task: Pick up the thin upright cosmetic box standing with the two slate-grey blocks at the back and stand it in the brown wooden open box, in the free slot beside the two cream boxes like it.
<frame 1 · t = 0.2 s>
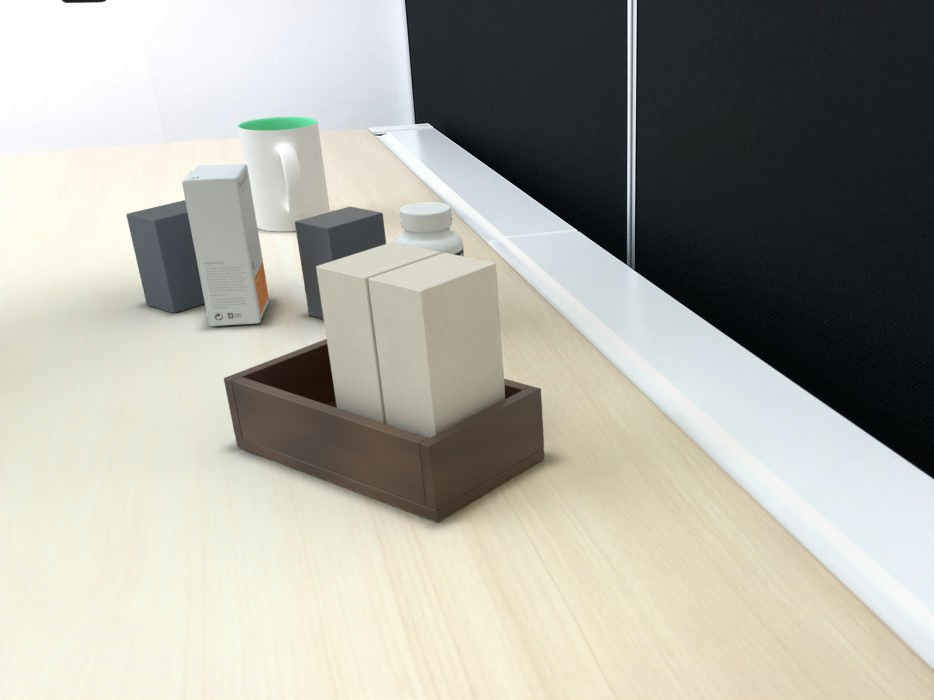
grey block back: (190, 300, 97), on the table
pill bottle: (436, 328, 91), on the table
grey block front: (351, 309, 94), on the table
cream box 2: (452, 463, 66), resting on brown wooden open box
cream box 1: (402, 446, 69), resting on brown wooden open box
brown wooden open box: (388, 453, 70), on the table
mug: (297, 227, 119), on the table
cosmetic box: (241, 316, 94), on the table
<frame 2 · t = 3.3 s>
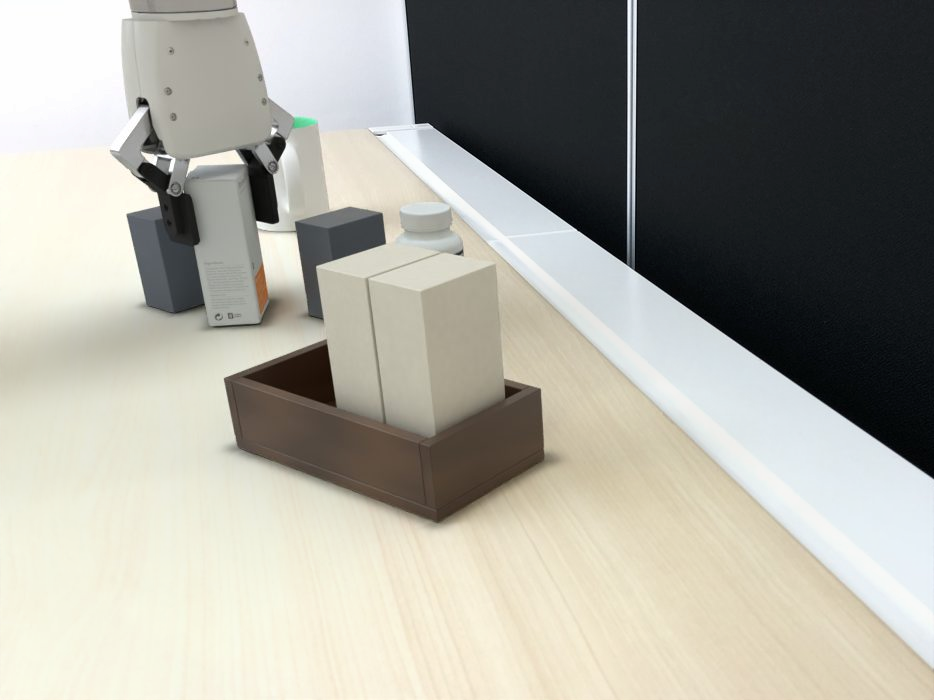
hand: (225, 230, 90), 7 cm above the table, tool pointing down, fingers closed on cosmetic box, 7 cm apart
cosmetic box: (241, 316, 94), on the table, touching gripper
everything else where it was.
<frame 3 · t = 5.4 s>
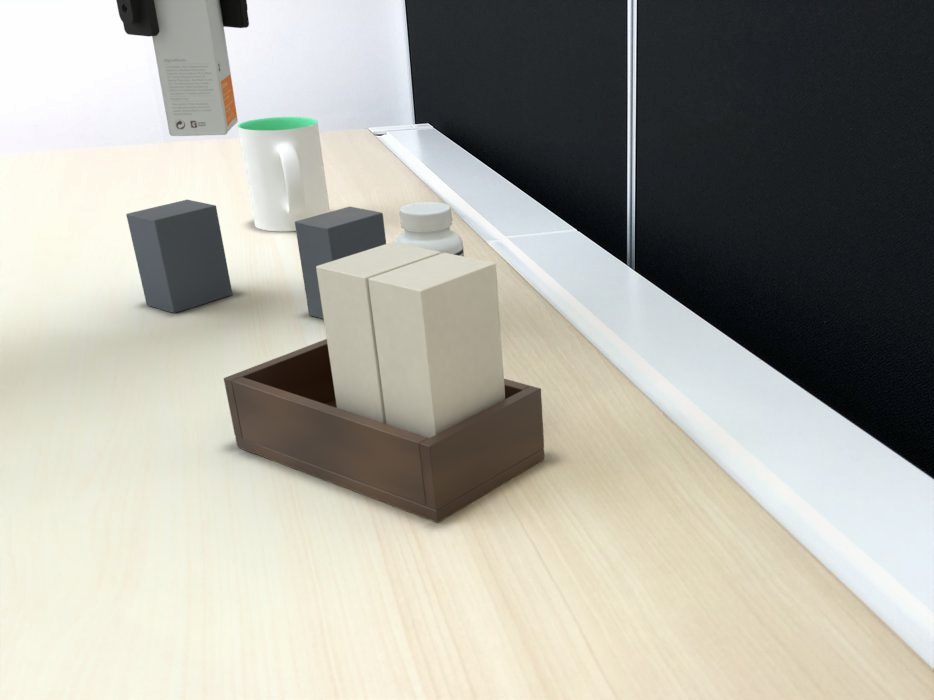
hand: (188, 28, 81), 23 cm above the table, tool pointing down, fingers closed on cosmetic box, 7 cm apart
cosmetic box: (206, 132, 85), point 15 cm above the table, touching gripper
everything else where it was.
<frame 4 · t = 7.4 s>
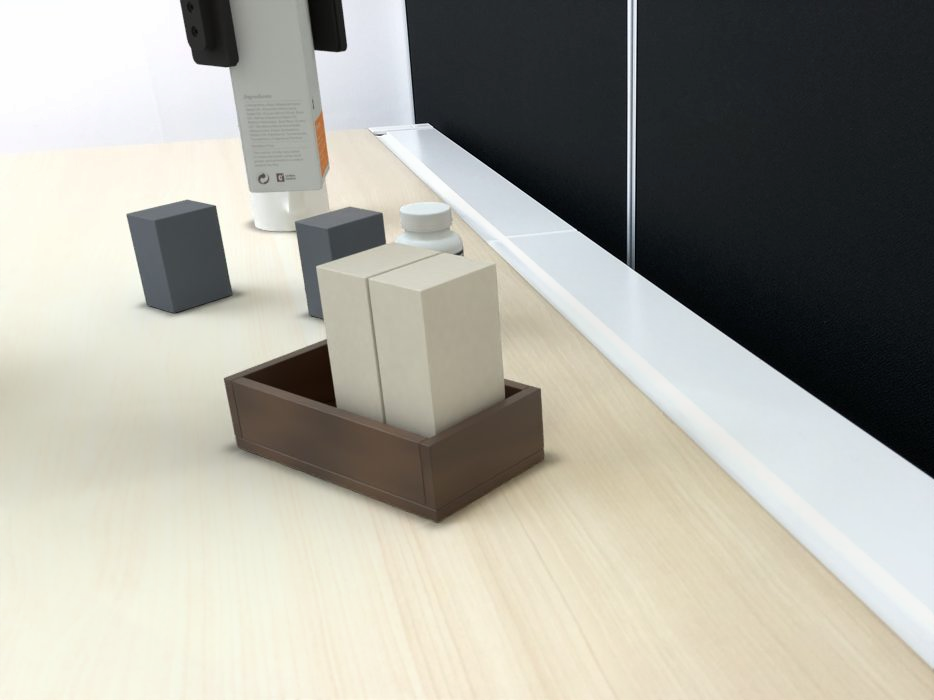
hand: (273, 55, 63), 23 cm above the table, tool pointing down, fingers closed on cosmetic box, 7 cm apart
cosmetic box: (293, 185, 66), point 16 cm above the table, touching gripper
everything else where it was.
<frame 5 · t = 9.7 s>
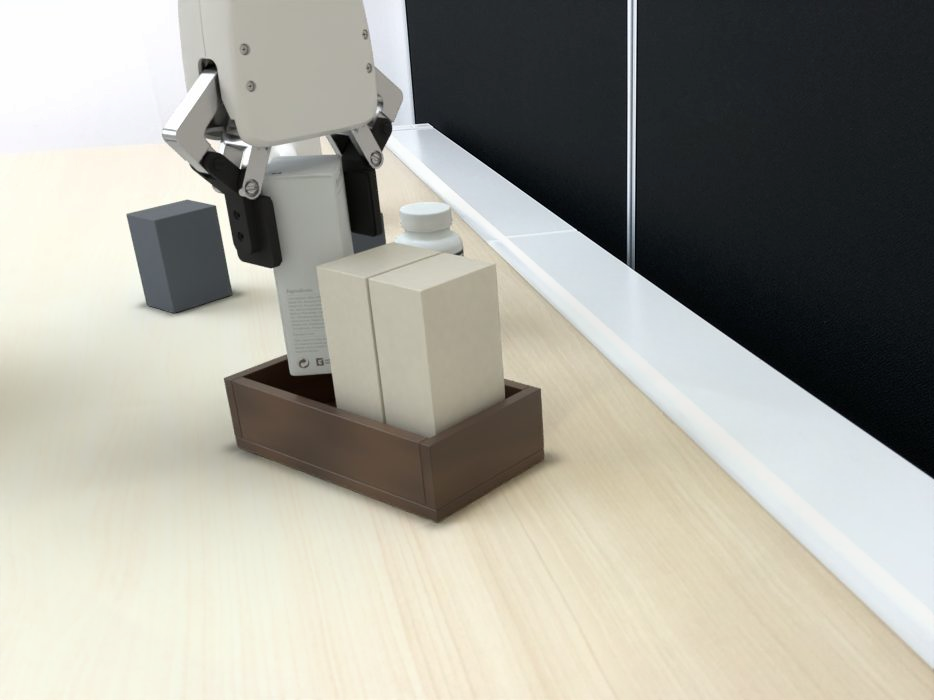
hand: (313, 245, 66), 13 cm above the table, tool pointing down, fingers closed on cosmetic box, 7 cm apart
cosmetic box: (330, 360, 69), point 5 cm above the table, touching gripper
everything else where it was.
when the fingers open (8 cm above the table, at t = 11.6 s): cosmetic box stays where it is, resting on brown wooden open box.
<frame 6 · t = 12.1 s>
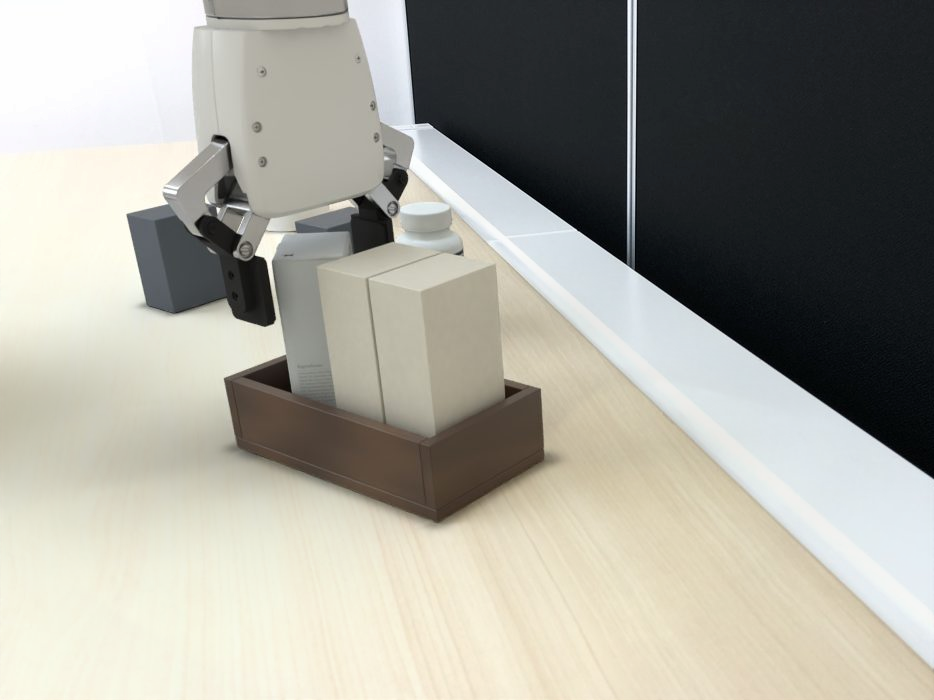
hand: (319, 299, 67), 9 cm above the table, tool pointing down, fingers open, 9 cm apart
cosmetic box: (339, 428, 72), point 1 cm above the table, touching brown wooden open box
everything else where it was.
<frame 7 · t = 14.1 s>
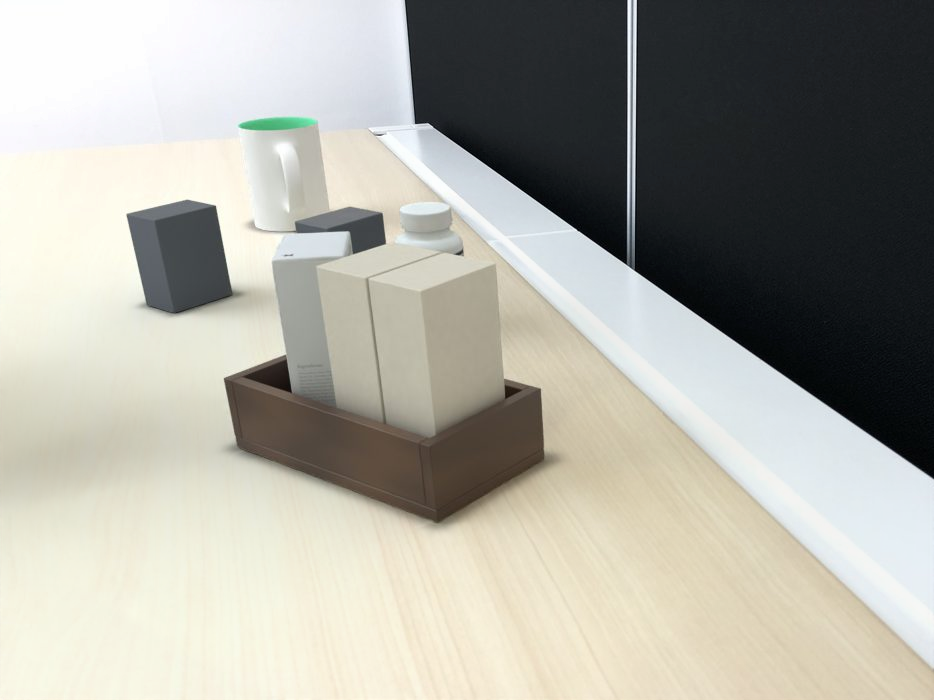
nothing on the table moved.
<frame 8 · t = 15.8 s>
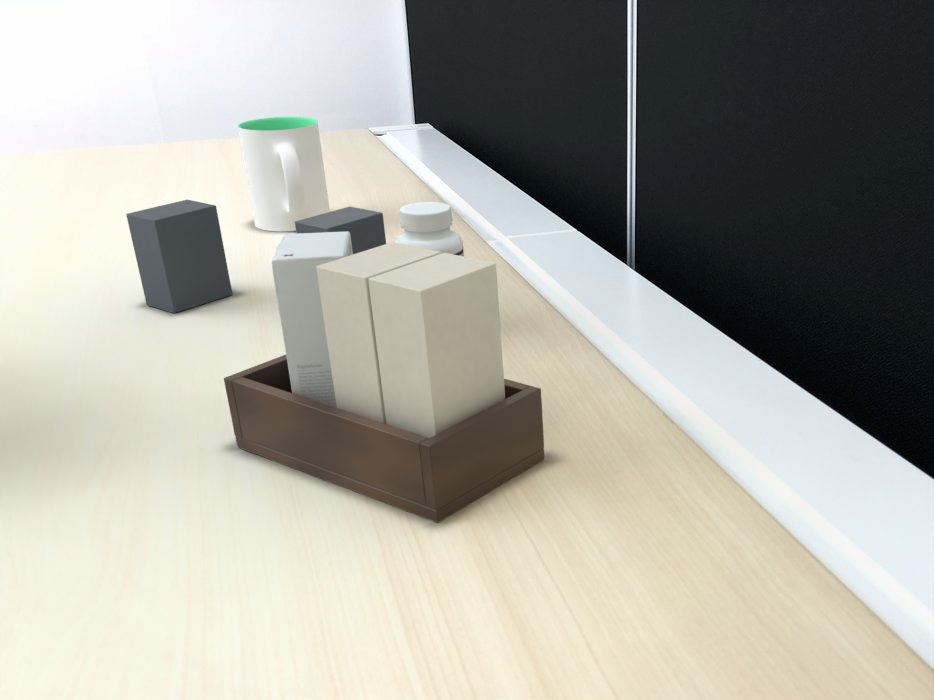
nothing on the table moved.
at the end: cosmetic box inside the target area in the brown wooden open box (0.2 cm from its centre), point 0.6 cm above the brown wooden open box's base; cosmetic box tilted 0°; the gripper is holding nothing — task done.
